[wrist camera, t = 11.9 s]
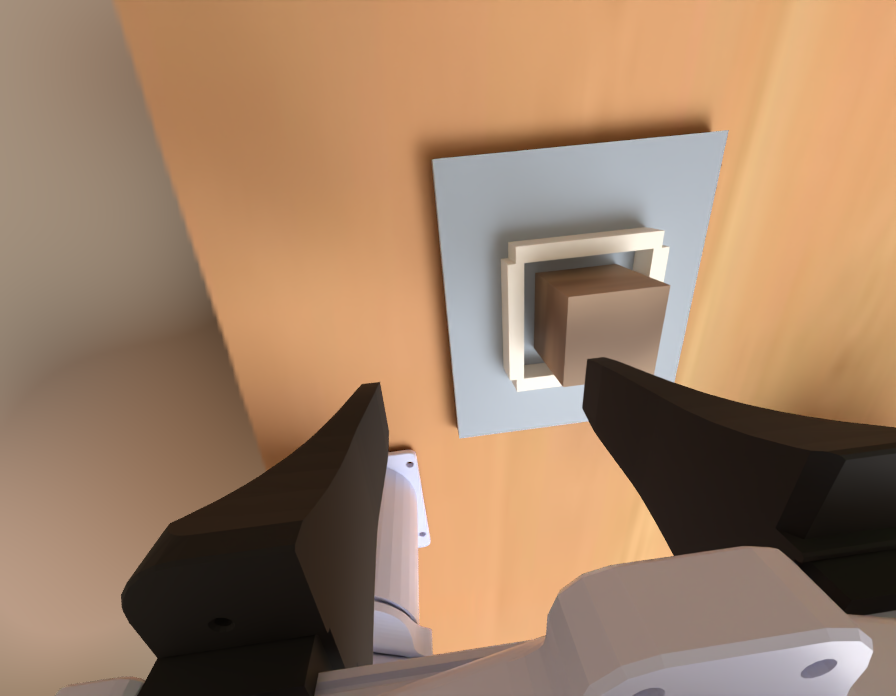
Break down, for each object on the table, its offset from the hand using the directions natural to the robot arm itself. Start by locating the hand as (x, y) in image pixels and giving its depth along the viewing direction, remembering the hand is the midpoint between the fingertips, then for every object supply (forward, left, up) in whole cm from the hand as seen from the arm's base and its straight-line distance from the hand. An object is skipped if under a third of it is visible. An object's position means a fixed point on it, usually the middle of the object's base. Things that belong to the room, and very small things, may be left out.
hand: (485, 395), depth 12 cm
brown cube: (0, -6, -8) cm, 10 cm away
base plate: (0, -6, -9) cm, 11 cm away
